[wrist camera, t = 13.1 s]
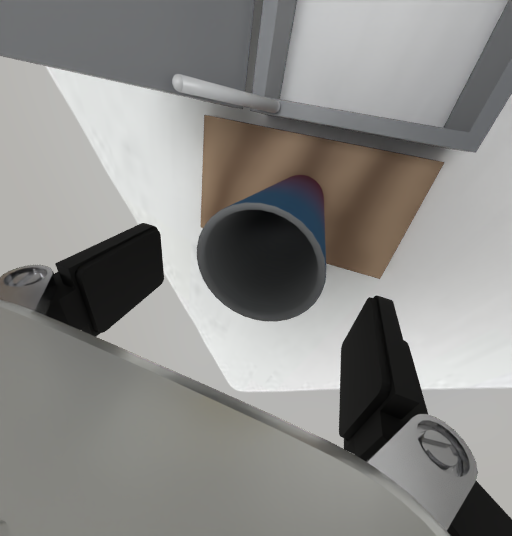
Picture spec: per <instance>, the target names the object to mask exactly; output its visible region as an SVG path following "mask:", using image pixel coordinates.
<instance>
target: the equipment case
mask: <svg viewBox="0 0 512 536" xmlns="http://www.w3.org/2000/svg"><path fill="white" fill-rule="evenodd" d="M296 2H297V0H263V7H262V15H261V23H260V31H259V40H258V48H257V56H256V64H255V72H254V81H253V89H252V93H248V92H244V91H241V90H237V89H233V88H229V87H226V86H222V85H218V84H215V83H211V82H207V81H204V80H200V79H196V78H192V77H189V76H185V75H181V74H176V75H174V77H173V79H172V84H173V87H174V88H175V90H176V91H178V92H181V93H186V94H190V95H195V96H199V97H204V98H208V99H213V100H217V101H222V102H226V103H231V104H235V105H240V106H244V107H249V108H250V110H251V111H254V112H258V113H262V114H266V115H271V116H276V117H281V118H287V119H292V120H297V121H303V122H308V123H313V124H319V125H324V126H329V127H335V128H340V129H345V130H351V131H356V132H361V133H367V134H372V135H377V136H383V137H388V138H393V139H398V140H404V141H409V142H414V143H420V144H425V145H430V146H436V147H441V148H446V149H454V150H461V151H468V152H476V151H477V150H478V148H479V146H480V145H481V143H482V141H483V140H484V138H485V137H486V135H487V133H488V132H489V130H490V128H491V127H492V125H493V123H494V122H495V120H496V118H497V117H498V115H499V113H500V112H501V110H502V109H503V107H504V105H505V104H506V102H507V100H508V99H509V97H510V95H511V94H512V0H509V1H508V3H507V5H506V7H505V9H504V11H503V13H502V15H501V17H500V19H499V21H498V23H497V25H496V27H495V29H494V31H493V33H492V35H491V36H490V38H489V40H488V42H487V44H486V46H485V48H484V50H483V52H482V54H481V56H480V58H479V60H478V62H477V64H476V66H475V68H474V70H473V72H472V74H471V75H470V77H469V79H468V81H467V83H466V85H465V87H464V89H463V91H462V93H461V95H460V97H459V99H458V101H457V103H456V105H455V107H454V109H453V111H452V112H451V114H450V116H449V118H448V120H447V122H446V124H445V126H444V128H441V127H435V126H429V125H423V124H418V123H412V122H406V121H400V120H395V119H389V118H383V117H378V116H372V115H366V114H360V113H355V112H349V111H343V110H337V109H332V108H326V107H320V106H314V105H309V104H303V103H297V102H291V101H286V100H280V94H281V88H282V82H283V76H284V71H285V65H286V59H287V54H288V48H289V42H290V36H291V31H292V25H293V19H294V14H295V8H296Z"/></svg>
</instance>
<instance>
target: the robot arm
mask: <svg viewBox="0 0 512 536" xmlns="http://www.w3.org/2000/svg"><path fill="white" fill-rule="evenodd" d="M56 266H57V269H58V272H57V273H55V274H54V273H53V271H52V269H51V268H50V267H48V266H43V265H30V266H24V267H19V268H16V269H13V270H11V271H8V272H7V273H5V274H3V275H2V276H1V277H0V536H512V519H511V518H510V517H509V516H508V515H507V514H506V513H505V512H504V510H503V509H502V508H501V507H500V506H499V505H498V504H497V503H496V502H495V501H494V500H493V499H492V498H491V496H490V495H489V494H488V493H487V492H486V491H485V490H484V489H483V488H482V487H481V485H479V483H478V482H477V481H476V478H477V474H478V471H477V465H476V461H475V459H474V456H473V455H472V452H471V450H470V449H469V447H468V446H467V444H466V443H465V441H464V440H463V439H462V438H461V437H460V436H459V435H458V433H457V432H456V431H454V429H452V428H451V427H450V426H449V425H447V424H446V423H445V422H443V421H442V420H440V419H438V418H436V417H434V416H431V415H428V412H427V408H426V405H425V401H424V398H423V395H422V391H421V387H420V384H419V380H418V377H417V373H416V370H415V366H414V362H413V359H412V355H411V352H410V348H409V346H408V343H407V342H406V341H404V340H403V337H402V334H401V330H400V326H399V322H398V318H397V315H396V311H395V307H394V303H393V301H392V300H389V299H386V298H383V297H380V296H375V297H374V298H370V297H369V298H368V299H367V301H366V303H365V304H364V306H363V308H362V310H361V311H360V313H359V315H358V317H357V319H356V320H355V322H354V324H353V326H352V328H351V329H350V331H349V333H348V335H347V336H346V338H345V340H344V342H343V344H342V348H341V377H340V415H339V416H340V417H339V434H340V436H341V437H343V438H344V449H343V448H340V447H339V446H337V445H335V444H333V443H331V442H329V441H327V440H325V439H323V438H321V437H319V436H316V435H315V434H312V433H310V432H308V431H306V430H303V429H302V428H300V427H297V426H295V425H293V424H291V423H289V422H287V421H285V420H282V419H280V418H278V417H276V416H274V415H272V414H269V413H267V412H265V411H263V410H260V409H258V408H256V407H254V406H251V405H249V404H247V403H245V402H242V401H240V400H238V399H236V398H233V397H231V396H229V395H227V394H225V393H222V392H220V391H218V390H216V389H213V388H211V387H209V386H206V385H204V384H202V383H200V382H197V381H195V380H193V379H191V378H188V377H186V376H184V375H182V374H179V373H177V372H175V371H173V370H170V369H168V368H166V367H163V366H161V365H159V364H157V363H154V362H152V361H149V360H148V359H145V358H143V357H141V356H138V355H136V354H134V353H132V352H129V351H127V350H125V349H122V348H120V347H118V346H116V345H113V344H111V343H108V342H106V341H104V340H102V339H99V338H97V337H96V336H97V335H98V334H100V333H102V332H105V331H106V330H108V329H109V328H110V327H111V326H112V325H114V324H115V323H116V322H117V321H118V320H120V319H121V318H122V317H123V316H124V315H125V314H127V313H128V312H129V311H130V310H131V309H133V308H134V307H135V306H136V305H137V304H139V303H140V302H141V301H142V300H143V299H144V298H146V297H147V296H148V295H149V294H150V293H152V292H153V291H154V290H155V289H156V288H158V287H159V286H160V285H161V284H162V282H163V280H164V273H163V261H162V249H161V237H160V232H159V231H158V229H157V228H156V227H155V226H152V225H149V224H146V223H142V224H139V225H137V226H135V227H133V228H131V229H129V230H126V231H124V232H122V233H120V234H118V235H116V236H114V237H112V238H109V239H107V240H105V241H103V242H101V243H99V244H97V245H94V246H92V247H90V248H88V249H86V250H84V251H81V252H79V253H77V254H75V255H73V256H71V257H68V258H67V259H64V260H62V261H60V262H58V263H56ZM81 330H82V331H81ZM346 450H347V451H346ZM348 451H349V452H348ZM350 452H351V453H350ZM352 453H353V454H352ZM354 454H355V455H354Z"/></svg>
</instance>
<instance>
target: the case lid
mask: <svg viewBox="0 0 512 536" xmlns="http://www.w3.org/2000/svg"><path fill="white" fill-rule="evenodd" d="M254 3H255V0H0V56H3V57H7V58H12V59H16V60H21V61H26V62H30V63H35V64H40V65H44V66H48V67H53V68H57V69H62V70H66V71H71V72H75V73H80V74H84V75H89V76H94V77H98V78H103V79H107V80H112V81H116V82H121V83H125V84H130V85H134V86H139V87H143V88H148V89H152V90H157V91H162V92H166V93H171V94H175V95H180V96H184V97H189V98H193V99H198V100H202V101H207V102H211V103H216V104H220V105H225V106H229V107H235V108H240V109H243V106H240V105H235V104H231V103H226V102H222V101H217V100H213V99H208V98H204V97H199V96H195V95H190V94H186V93H181V92H178V91H176V90H175V88H174V87H173V84H172V79H173V77H174V75H176V74H181V75H185V76H189V77H192V78H196V79H200V80H204V81H207V82H211V83H215V84H218V85H222V86H226V87H229V88H233V89H237V90H241V91H244V92H245V86H246V77H247V68H248V59H249V49H250V40H251V31H252V22H253V12H254Z"/></svg>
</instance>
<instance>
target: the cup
mask: <svg viewBox="0 0 512 536" xmlns="http://www.w3.org/2000/svg"><path fill="white" fill-rule="evenodd" d="M197 260H198V265H199V269H200V272H201V275H202V277H203V279H204V281H205V283H206V285H207V286H208V288H209V289H210V290H211V292H212V293H213V294H214V295H215V297H216V298H217V299H219V300H220V301H221V302H222V303H223V304H224V305H225V306H227V307H228V308H230V309H231V310H233V311H235V312H237V313H239V314H241V315H243V316H245V317H249V318H252V319H255V320H261V321H282V320H287V319H290V318H293V317H296V316H298V315H300V314H302V313H303V312H305V311H307V310H308V309H309V308H310V307H311V306H312V305H313V304H314V303H315V302H316V300H317V299H318V297H319V296H320V294H321V292H322V290H323V287H324V284H325V278H326V246H325V216H324V195H323V191H322V188H321V187H320V185H319V184H318V183H317V181H316V180H314V179H313V178H311V177H309V176H306V175H295V176H291V177H289V178H287V179H285V180H283V181H281V182H279V183H276V184H274V185H272V186H270V187H268V188H266V189H264V190H262V191H260V192H258V193H255V194H253V195H251V196H249V197H247V198H245V199H243V200H241V201H239V202H236V203H234V204H232V205H230V206H228V207H226V208H224V209H222V210H220V211H219V212H217V213H216V214H215V215H214V216H212V217H211V218H210V219H209V221H208V222H207V223H206V224H205V226H204V228H203V230H202V232H201V234H200V236H199V241H198V245H197Z"/></svg>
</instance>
